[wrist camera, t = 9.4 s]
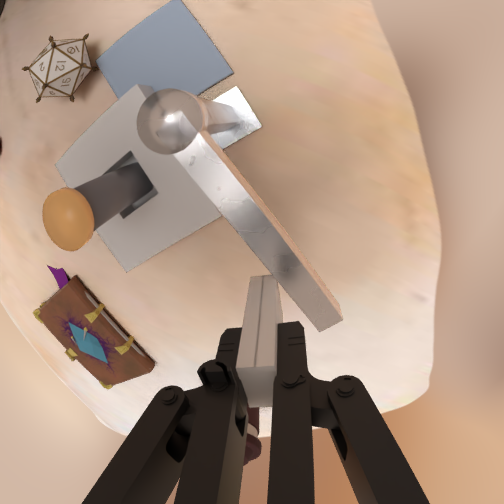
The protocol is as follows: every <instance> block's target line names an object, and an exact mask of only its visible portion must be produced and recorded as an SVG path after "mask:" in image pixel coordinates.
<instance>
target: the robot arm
mask: <svg viewBox="0 0 504 504" xmlns="http://www.w3.org/2000/svg"><path fill="white" fill-rule="evenodd" d="M4 2H5V0H0V14H1V12H2V9H3V6H4ZM197 373H198V375H199V377H200V379H201V381H202V383H203V385H202V386H200V387H198V388H195V389H191V390H187V391H183V390H182V388H180V387H178V386H167V387H164V388H162V389H161V390H160V391H159V392H158V393H157V394H156V395H155V397H154V398H153V400H152V401H151V403H150V404H149V405H148V407H147V408H146V410H145V411H144V413H143V414H142V416H141V417H140V419H139V420H138V422H137V423H136V425H135V426H134V427H133V429H132V430H131V432H130V433H129V435H128V436H127V438H126V439H125V441H124V442H123V444H122V445H121V447H120V448H119V450H118V451H117V452H116V454H115V455H114V457H113V458H112V460H111V462H110V463H109V464H108V466H107V467H106V469H105V470H104V472H103V473H102V474H101V476H100V477H99V479H98V480H97V482H96V483H95V485H94V486H93V488H92V489H91V491H90V492H89V494H88V495H87V497H86V498H85V499H84V501H83V502H82V504H165V503H166V501H167V500H168V498H169V496H170V494H171V493H172V491H173V489H174V487H175V485H176V483H177V482H178V480H179V478H180V480H179V484H178V488H177V493H176V497H175V501H174V504H239V496H240V488H241V480H242V472H243V463H244V455H245V446H246V437H247V428H248V419H249V418H248V413H247V402H248V404H249V407H272V427H271V448H270V465H269V466H270V467H269V481H268V497H267V504H315V503H314V502H315V501H314V500H315V499H314V498H315V497H314V462H313V440H312V426H315V427H321V428H327V429H328V430H329V433H330V435H331V438H332V440H333V442H334V445H335V447H336V450H337V452H338V454H339V457H340V459H341V462H342V464H343V467H344V469H345V471H346V474H347V476H348V478H349V481H350V483H351V486H352V488H353V491H354V493H355V495H356V498H357V500H358V503H359V504H430V503H429V501H428V499H427V497H426V495H425V494H424V492H423V490H422V488H421V486H420V484H419V482H418V480H417V479H416V477H415V475H414V473H413V471H412V469H411V468H410V466H409V464H408V462H407V460H406V458H405V457H404V455H403V453H402V451H401V449H400V448H399V446H398V444H397V442H396V440H395V439H394V437H393V435H392V433H391V432H390V430H389V428H388V426H387V424H386V423H385V421H384V419H383V418H382V416H381V414H380V412H379V410H378V409H377V407H376V405H375V404H374V402H373V400H372V398H371V397H370V395H369V393H368V391H367V390H366V388H365V386H364V385H363V383H362V382H361V381H360V380H359V379H358V378H356V377H354V376H350V375H343V376H339V377H337V378H335V379H333V380H332V381H331V382H330V381H323V380H319V379H316V378H314V377H313V376H312V375H311V374H310V373H309V371H308V367H307V355H306V344H305V334H304V327H303V326H302V325H301V323H300V322H299V321H296V322H287V323H283V313H282V307H281V301H280V294H279V288H278V282H277V280H276V279H275V277H274V276H273V275H264V276H256V277H250V283H249V290H248V296H247V302H246V308H245V314H244V320H243V326H242V328H229V329H226V330H225V332H224V333H223V334H222V335H221V338H220V342H219V346H218V352H217V355H216V359H214V360H209V361H207V362H205V363H203V364H202V365H201V366H200V367H199V369H198V371H197Z"/></svg>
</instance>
